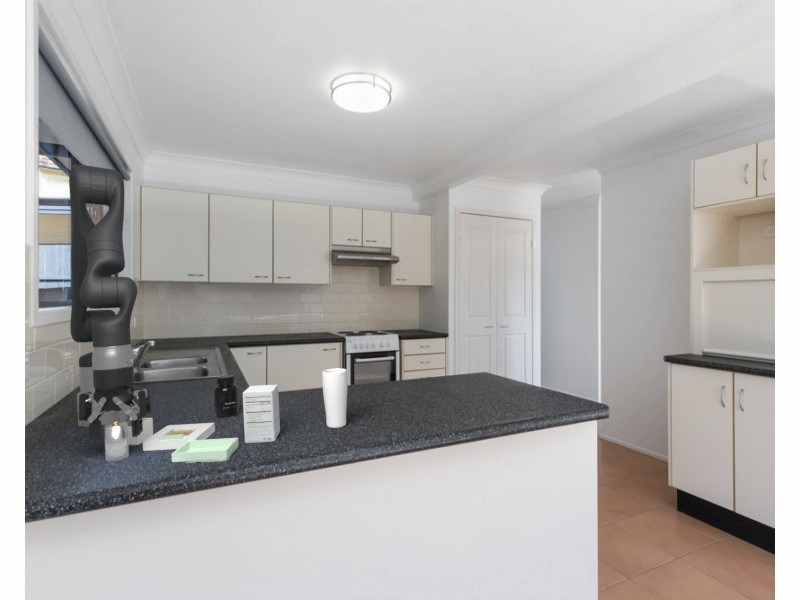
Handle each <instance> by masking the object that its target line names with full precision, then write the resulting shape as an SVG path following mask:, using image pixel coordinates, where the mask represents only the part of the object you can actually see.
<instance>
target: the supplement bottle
mask: <svg viewBox="0 0 800 600" xmlns="http://www.w3.org/2000/svg"><path fill="white" fill-rule="evenodd" d="M235 381H236V380H235V375H233V374H226V375H225V374H224V375H219V376H217V377H216V384H217V385H216V386H215V387H214V388H213V417H214V418H217V419H225V418H226V419H227V418H231V417H234V418H235V417H237V416H238V415H239V413H240V412H239V407H240V406H239V386H238V385H237V384H236V383H235Z"/></svg>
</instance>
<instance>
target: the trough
mask: <svg viewBox="0 0 800 600" xmlns="http://www.w3.org/2000/svg"><path fill="white" fill-rule="evenodd" d="M239 447H240V446H239V437H228V438H227V437H225V438H209V439H208V438H206V439H205V440H188V441H187V442H185V443H184V444H183V445H182V446H180V447H179V448H178V449H175V450H174V451H173V452H172V453H171V462H172V463H178V462H179V463H180V462H181V463H182V462H183V463H185V464H197V463H196V462H201V463H214V462H215V463H216V462H227V461H229V459H230V458H231V457H232V455H233V454H234V453H235V452H236V451H237V449H238V448H239Z"/></svg>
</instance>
